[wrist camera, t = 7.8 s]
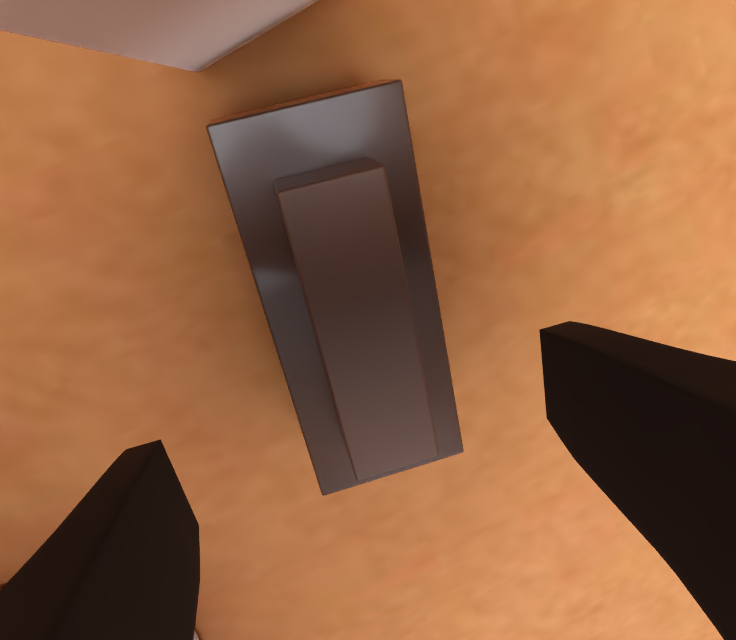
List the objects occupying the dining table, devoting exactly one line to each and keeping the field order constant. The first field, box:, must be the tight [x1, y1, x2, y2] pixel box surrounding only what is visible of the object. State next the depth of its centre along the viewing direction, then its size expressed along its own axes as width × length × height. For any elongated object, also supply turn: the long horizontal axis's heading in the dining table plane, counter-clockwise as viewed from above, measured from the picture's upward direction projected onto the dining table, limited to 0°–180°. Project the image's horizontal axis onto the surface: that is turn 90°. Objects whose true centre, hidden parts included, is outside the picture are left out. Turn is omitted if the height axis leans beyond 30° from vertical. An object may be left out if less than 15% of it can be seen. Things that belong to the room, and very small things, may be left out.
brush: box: [206, 80, 463, 495], centre depth 16 cm, size 11×5×5 cm, turn 12°
